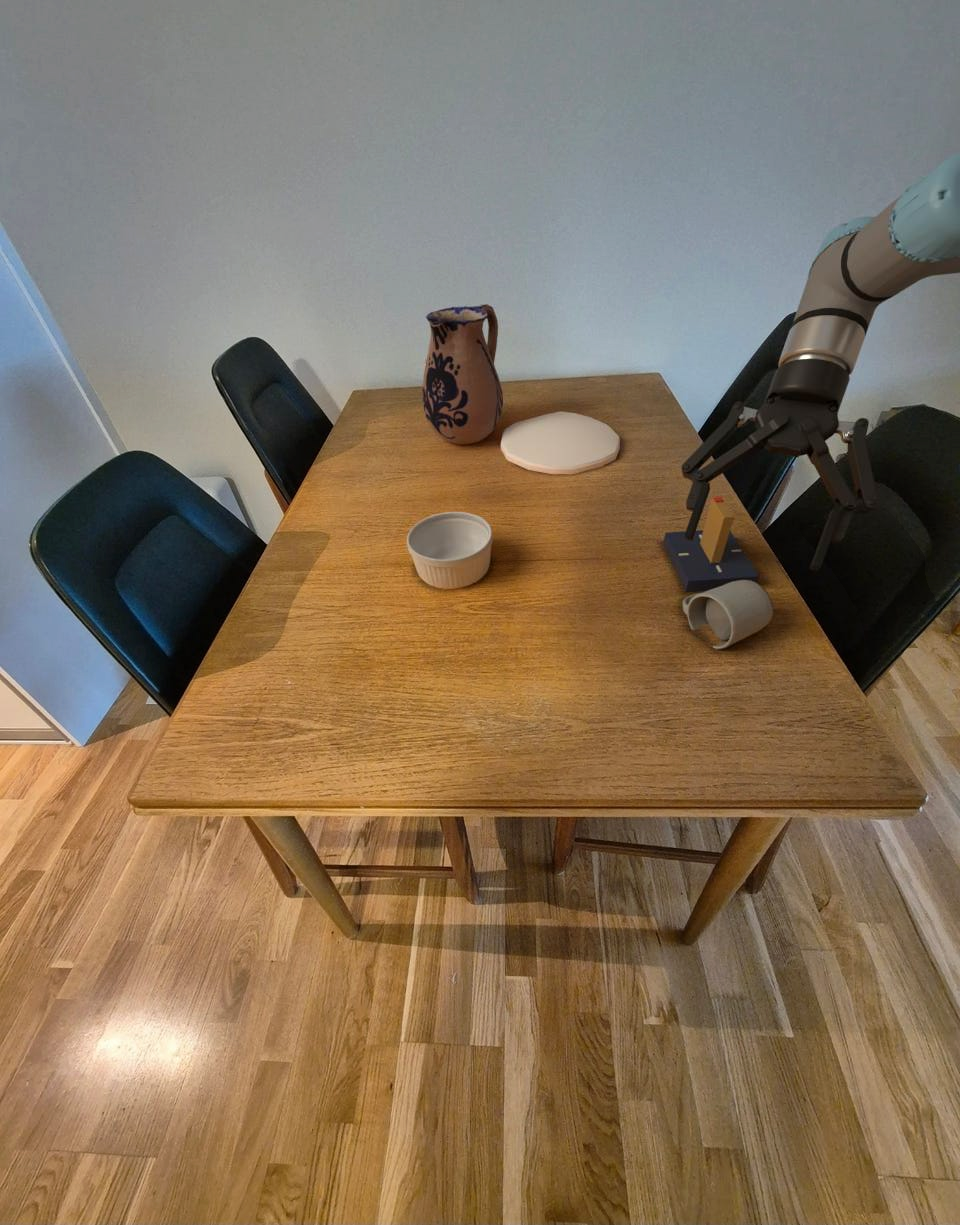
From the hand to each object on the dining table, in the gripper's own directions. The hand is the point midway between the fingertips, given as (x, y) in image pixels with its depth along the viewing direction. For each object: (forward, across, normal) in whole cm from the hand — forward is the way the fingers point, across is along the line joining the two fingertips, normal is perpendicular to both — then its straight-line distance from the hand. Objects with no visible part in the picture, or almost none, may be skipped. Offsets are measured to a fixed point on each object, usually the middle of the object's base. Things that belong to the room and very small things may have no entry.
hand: (748, 552), depth 61 cm
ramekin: (+12, +40, -8) cm, 43 cm away
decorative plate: (-19, +42, -40) cm, 62 cm away
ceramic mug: (+9, +1, -12) cm, 15 cm away
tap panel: (0, +5, -21) cm, 21 cm away
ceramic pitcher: (-19, +64, -40) cm, 78 cm away
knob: (-2, +5, -19) cm, 19 cm away
